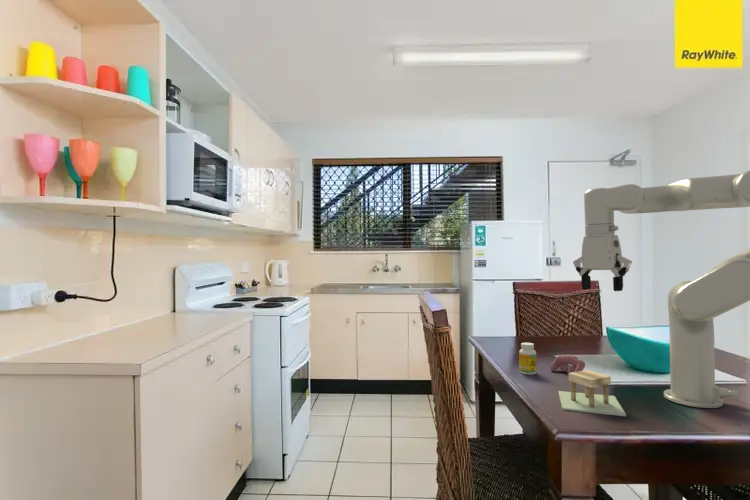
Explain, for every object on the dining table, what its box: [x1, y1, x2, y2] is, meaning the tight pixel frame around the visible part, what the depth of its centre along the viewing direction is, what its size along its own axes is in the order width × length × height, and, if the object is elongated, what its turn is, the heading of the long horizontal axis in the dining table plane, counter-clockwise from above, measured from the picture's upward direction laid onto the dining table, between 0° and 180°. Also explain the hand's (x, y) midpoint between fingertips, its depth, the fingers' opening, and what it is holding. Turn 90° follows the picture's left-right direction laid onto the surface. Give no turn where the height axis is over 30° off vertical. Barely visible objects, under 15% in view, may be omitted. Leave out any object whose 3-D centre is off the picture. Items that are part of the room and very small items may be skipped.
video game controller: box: [550, 354, 586, 373], centre depth 139 cm, size 10×5×7 cm, turn 35°
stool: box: [568, 369, 612, 407], centre depth 111 cm, size 7×7×7 cm
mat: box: [557, 390, 627, 417], centre depth 111 cm, size 14×14×1 cm
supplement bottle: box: [518, 342, 538, 376], centre depth 140 cm, size 5×5×10 cm
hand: (601, 289), depth 123 cm, fingers open, 9 cm apart
